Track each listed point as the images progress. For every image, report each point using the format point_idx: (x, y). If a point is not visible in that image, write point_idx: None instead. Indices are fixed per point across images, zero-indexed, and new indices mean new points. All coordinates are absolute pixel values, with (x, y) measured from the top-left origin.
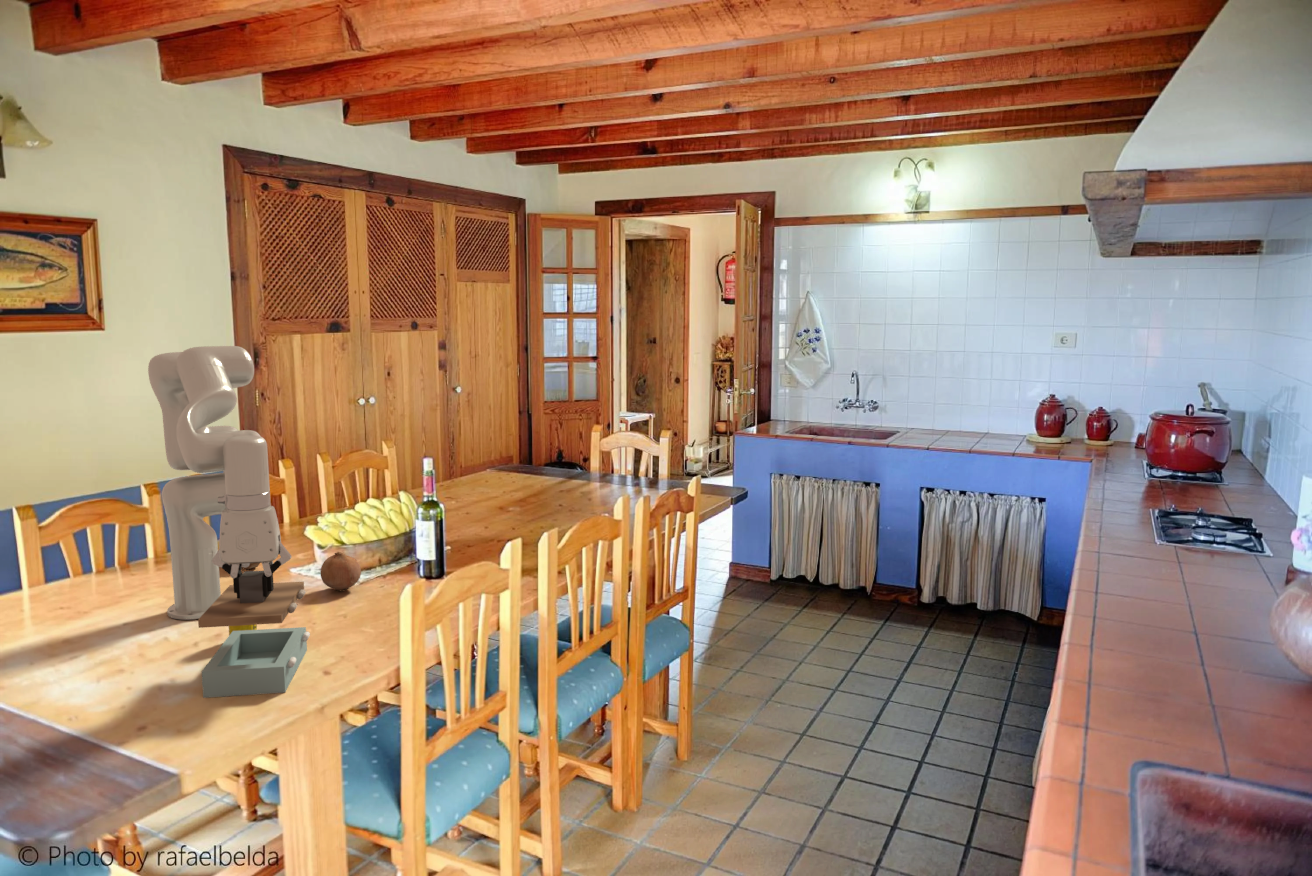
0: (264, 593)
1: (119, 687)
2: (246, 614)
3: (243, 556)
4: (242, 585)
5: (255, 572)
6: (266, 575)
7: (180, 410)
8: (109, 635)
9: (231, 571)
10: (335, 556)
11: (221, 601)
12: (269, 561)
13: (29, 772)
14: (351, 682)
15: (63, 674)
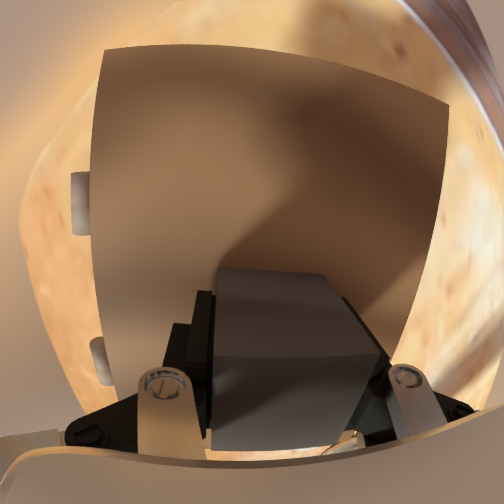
0: (209, 299)
1: (453, 226)
2: (273, 88)
3: (438, 498)
4: (340, 320)
5: (274, 433)
6: (181, 376)
7: None
8: (440, 393)
9: (429, 392)
10: None
11: (390, 311)
12: (88, 448)
13: (464, 11)
14: (61, 144)
15: (490, 288)
